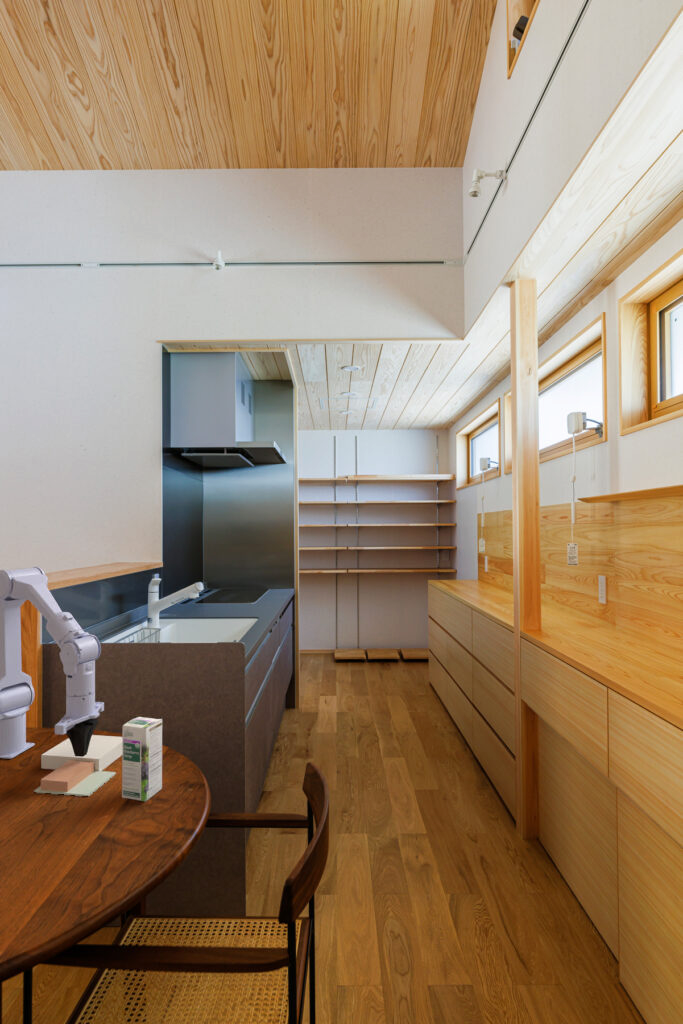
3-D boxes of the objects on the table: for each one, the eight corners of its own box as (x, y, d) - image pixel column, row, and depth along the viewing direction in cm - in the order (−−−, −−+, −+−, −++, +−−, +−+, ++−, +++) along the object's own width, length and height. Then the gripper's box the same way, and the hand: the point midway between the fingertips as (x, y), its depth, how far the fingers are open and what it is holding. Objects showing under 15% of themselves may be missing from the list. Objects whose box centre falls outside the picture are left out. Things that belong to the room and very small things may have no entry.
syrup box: (120, 798, 111) (120, 725, 111) (139, 784, 116) (139, 714, 116) (145, 802, 109) (145, 728, 109) (163, 788, 115) (163, 717, 115)
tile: (40, 789, 113) (40, 779, 113) (69, 769, 122) (68, 760, 122) (67, 791, 113) (67, 781, 113) (94, 771, 121) (94, 762, 121)
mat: (33, 792, 113) (33, 790, 113) (65, 770, 123) (65, 768, 123) (88, 797, 111) (88, 795, 111) (116, 774, 121) (116, 772, 121)
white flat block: (41, 768, 124) (41, 754, 124) (75, 746, 136) (75, 734, 136) (99, 772, 122) (99, 758, 122) (128, 749, 134) (128, 737, 134)
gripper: (76, 704, 114) (76, 771, 114) (116, 683, 128) (116, 742, 128) (45, 703, 115) (45, 769, 115) (88, 682, 130) (88, 741, 129)
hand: (80, 755), depth 122 cm, fingers closed
